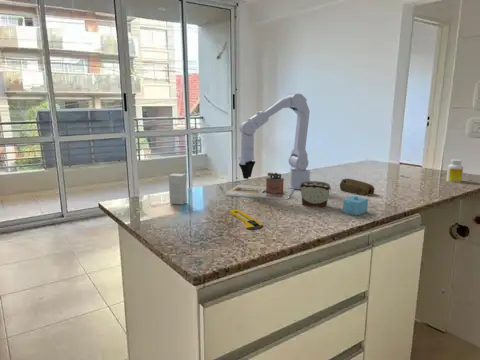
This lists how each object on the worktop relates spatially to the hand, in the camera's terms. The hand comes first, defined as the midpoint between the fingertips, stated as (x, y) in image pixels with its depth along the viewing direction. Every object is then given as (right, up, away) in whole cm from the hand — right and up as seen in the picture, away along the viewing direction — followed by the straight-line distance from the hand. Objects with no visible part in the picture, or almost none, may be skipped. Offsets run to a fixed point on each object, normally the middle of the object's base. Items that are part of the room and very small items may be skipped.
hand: (247, 177), depth 169 cm
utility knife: (-2, -16, -39) cm, 42 cm away
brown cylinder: (+49, -8, -3) cm, 50 cm away
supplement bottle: (+104, -4, +16) cm, 105 cm away
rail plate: (+6, -7, 0) cm, 9 cm away
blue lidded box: (+39, -15, -33) cm, 53 cm away
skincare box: (-29, -11, -16) cm, 35 cm away
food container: (+27, -12, -21) cm, 37 cm away
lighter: (+12, -8, -2) cm, 15 cm away
